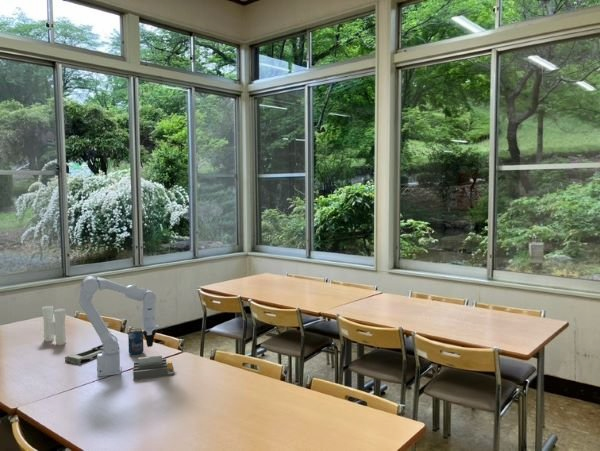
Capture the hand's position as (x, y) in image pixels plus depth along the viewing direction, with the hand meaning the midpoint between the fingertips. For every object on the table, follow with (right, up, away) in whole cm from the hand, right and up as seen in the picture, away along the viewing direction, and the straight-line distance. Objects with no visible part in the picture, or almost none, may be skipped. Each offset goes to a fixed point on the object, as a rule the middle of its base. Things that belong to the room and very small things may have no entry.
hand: (149, 346), depth 216 cm
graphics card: (-32, -9, +15) cm, 37 cm away
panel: (+3, -9, -7) cm, 12 cm away
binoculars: (-63, -7, +38) cm, 74 cm away
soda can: (-12, -9, +18) cm, 23 cm away
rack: (+4, -10, -7) cm, 13 cm away
